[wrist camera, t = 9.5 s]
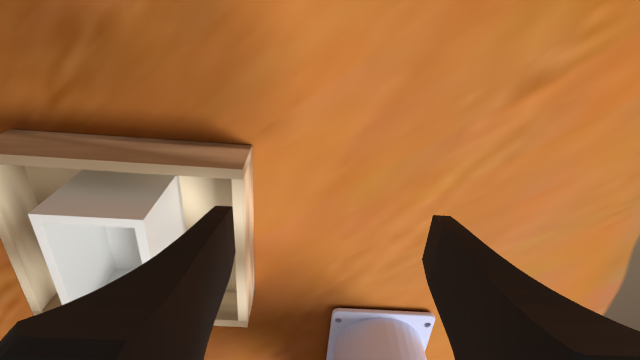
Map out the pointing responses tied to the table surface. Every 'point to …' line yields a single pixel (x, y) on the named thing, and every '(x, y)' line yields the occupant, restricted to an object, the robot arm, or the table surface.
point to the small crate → (106, 227)
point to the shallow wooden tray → (133, 157)
